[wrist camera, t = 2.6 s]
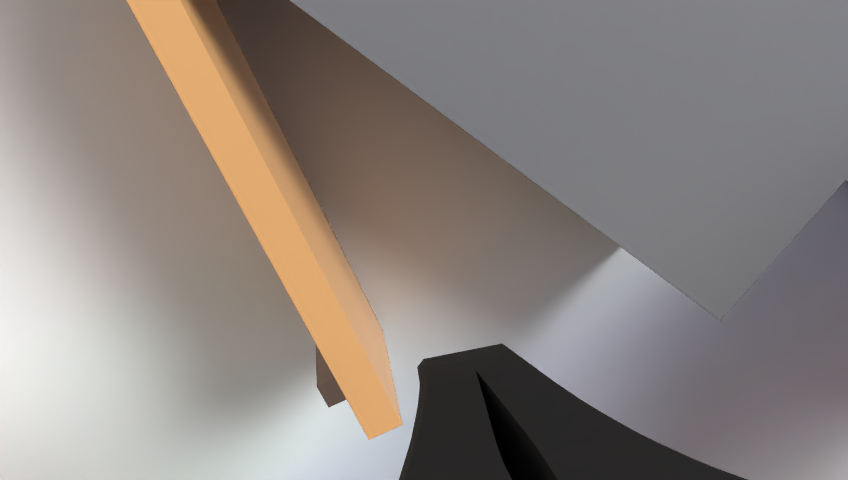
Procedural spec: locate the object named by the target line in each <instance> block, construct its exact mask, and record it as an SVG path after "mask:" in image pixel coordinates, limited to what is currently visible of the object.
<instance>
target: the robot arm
mask: <svg viewBox="0 0 848 480" xmlns="http://www.w3.org/2000/svg"><path fill="white" fill-rule="evenodd" d="M846 181H847V182H848V178H847V179H846ZM417 368H418V374H419V380H420V391H419V400H418V408H417V414H416V418H415V423H414V428H413V433H412V438H411V442H410V445H409V449H408V452H407V455H406V459H405V462H404V465H403V468H402V472H401V475H400V478H399V480H747V479H744V478H741V477H738V476H736V475H733V474H730V473H727V472H725V471H722V470H719V469H717V468H714V467H712V466H709V465H707V464H704V463H702V462H699V461H697V460H694V459H692V458H690V457H688V456H685V455H683V454H681V453H679V452H677V451H675V450H672V449H670V448H668V447H666V446H664V445H661V444H659V443H657V442H655V441H653V440H651V439H649V438H647V437H645V436H643V435H641V434H639V433H637V432H635V431H633V430H631V429H630V428H628V427H626V426H624V425H623V424H621V423H619V422H617V421H616V420H614V419H612V418H610V417H609V416H607V415H605V414H603V413H601V412H600V411H598V410H597V409H595V408H593V407H592V406H590V405H588V404H587V403H585V402H584V401H582V400H581V399H579V398H578V397H576V396H575V395H573V394H572V393H570V392H568V391H567V390H565V389H564V388H563V387H561V386H560V385H558V384H557V383H555V382H554V381H553V380H551V379H550V378H548V377H547V376H546V375H544V374H543V373H542V372H540V371H539V370H537V369H536V368H535V367H533V366H532V365H531V364H529V363H528V362H527V361H525V360H524V359H523V358H521V357H520V356H519V355H517V354H516V353H514V352H513V351H512V350H510V349H509V348H508V347H506V346H505V345H503V344H498V345H493V346H488V347H483V348H478V349H472V350H467V351H462V352H457V353H452V354H447V355H442V356H437V357H432V358H427V359H423V361H422V362H421V363H420V365H419V366H418V367H417Z"/></svg>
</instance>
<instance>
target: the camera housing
mask: <svg viewBox="0 0 848 480" xmlns="http://www.w3.org/2000/svg"><path fill="white" fill-rule="evenodd" d="M290 1H291V2H292V3H294V4H295V5H297V6H298V7H299V8H301V9H302V10H303V11H305V12H306V13H307V14H309V15H310V16H311V17H313V18H314V19H315V20H317V21H318V22H319V23H321V24H322V25H323V26H325V27H326V28H327V29H329V30H330V31H331V32H333V33H334V34H335V35H337V36H338V37H340V38H341V39H342V40H344V41H345V42H346V43H348V44H349V45H350V46H352V47H353V48H354V49H356V50H357V51H358V52H360V53H361V54H362V55H364V56H365V57H366V58H368V59H369V60H370V61H372V62H373V63H374V64H376V65H377V66H378V67H380V68H381V69H383V70H384V71H385V72H387V73H388V74H389V75H391V76H392V77H393V78H395V79H396V80H397V81H399V82H400V83H401V84H403V85H404V86H405V87H407V88H408V89H409V90H411V91H412V92H413V93H415V94H416V95H417V96H419V97H420V98H421V99H423V100H424V101H426V102H427V103H428V104H430V105H431V106H432V107H434V108H435V109H436V110H438V111H439V112H440V113H442V114H443V115H444V116H446V117H447V118H448V119H450V120H451V121H452V122H454V123H455V124H456V125H458V126H459V127H460V128H462V129H463V130H465V131H466V132H467V133H469V134H470V135H471V136H473V137H474V138H475V139H477V140H478V141H479V142H481V143H482V144H483V145H485V146H486V147H487V148H489V149H490V150H491V151H493V152H494V153H495V154H497V155H498V156H499V157H501V158H502V159H503V160H505V161H506V162H508V163H509V164H510V165H512V166H513V167H514V168H516V169H517V170H518V171H520V172H521V173H522V174H524V175H525V176H526V177H528V178H529V179H530V180H532V181H533V182H534V183H536V184H537V185H538V186H540V187H541V188H542V189H544V190H545V191H546V192H548V193H549V194H551V195H552V196H553V197H555V198H556V199H557V200H559V201H560V202H561V203H563V204H564V205H565V206H567V207H568V208H569V209H571V210H572V211H573V212H575V213H576V214H577V215H579V216H580V217H581V218H583V219H584V220H585V221H587V222H588V223H589V224H591V225H592V226H594V227H595V228H596V229H598V230H599V231H600V232H602V233H603V234H604V235H606V236H607V237H608V238H610V239H611V240H612V241H614V242H615V243H616V244H618V245H619V246H620V247H622V248H623V249H624V250H626V251H627V252H628V253H630V254H631V255H632V256H634V257H635V258H637V259H638V260H639V261H641V262H642V263H643V264H645V265H646V266H647V267H649V268H650V269H651V270H653V271H654V272H655V273H657V274H658V275H659V276H661V277H662V278H663V279H665V280H666V281H667V282H669V283H670V284H671V285H673V286H674V287H676V288H677V289H678V290H680V291H681V292H682V293H684V294H685V295H686V296H688V297H689V298H690V299H692V300H693V301H694V302H696V303H697V304H698V305H700V306H701V307H702V308H704V309H705V310H706V311H708V312H709V313H710V314H712V315H713V316H714V317H716V318H717V319H719V320H720V321H721V320H722V318H723V317H724V316H725V315H726V314H727V313H728V312H729V311H730V309H731V308H732V307H733V306H734V305H735V304H736V303H737V302H738V300H739V299H740V298H741V297H742V296H743V295H744V294H745V293H746V291H747V290H748V289H749V288H750V287H751V286H752V285H753V284H754V283H755V281H756V280H757V279H758V278H759V277H760V276H761V275H762V274H763V272H764V271H765V270H766V269H767V268H768V267H769V266H770V265H771V263H772V262H773V261H774V260H775V259H776V258H777V257H778V256H779V254H780V253H781V252H782V251H783V250H784V249H785V248H786V247H787V245H788V244H789V243H790V242H791V241H792V240H793V239H794V238H795V236H796V235H797V234H798V233H799V232H800V231H801V230H802V229H803V227H804V226H805V225H806V224H807V223H808V222H809V221H810V220H811V218H812V217H813V216H814V215H815V214H816V213H817V212H818V211H819V209H820V208H821V207H822V206H823V205H824V204H825V203H826V202H827V200H828V199H829V198H830V197H831V196H832V195H833V194H834V193H835V191H836V190H837V189H838V188H839V187H840V186H841V185H842V184H843V183H844V181H845V180H846V179H847V178H848V0H290Z"/></svg>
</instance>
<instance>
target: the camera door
mask: <svg viewBox="0 0 848 480" xmlns="http://www.w3.org/2000/svg"><path fill="white" fill-rule="evenodd" d="M126 1H127V3H128V4H129V6H130V8H131V10H132V12H133V14H134V15H135V17H136V19H137V21H138V23H139V24H140V26H141V28H142V30H143V32H144V33H145V35H146V37H147V39H148V41H149V43H150V44H151V46H152V48H153V50H154V52H155V53H156V55H157V57H158V59H159V61H160V62H161V64H162V66H163V68H164V70H165V71H166V73H167V75H168V77H169V79H170V81H171V82H172V84H173V86H174V88H175V90H176V91H177V93H178V95H179V97H180V99H181V100H182V102H183V104H184V106H185V108H186V109H187V111H188V113H189V115H190V117H191V119H192V120H193V122H194V124H195V126H196V128H197V129H198V131H199V133H200V135H201V137H202V138H203V140H204V142H205V144H206V146H207V148H208V149H209V151H210V153H211V155H212V157H213V158H214V160H215V162H216V164H217V166H218V167H219V169H220V171H221V173H222V175H223V176H224V178H225V180H226V182H227V184H228V186H229V187H230V189H231V191H232V193H233V195H234V196H235V198H236V200H237V202H238V204H239V205H240V207H241V209H242V211H243V213H244V215H245V216H246V218H247V220H248V222H249V224H250V225H251V227H252V229H253V231H254V233H255V234H256V236H257V238H258V240H259V242H260V243H261V245H262V247H263V249H264V251H265V253H266V254H267V256H268V258H269V260H270V262H271V263H272V265H273V267H274V269H275V271H276V272H277V274H278V276H279V278H280V280H281V281H282V283H283V285H284V287H285V289H286V291H287V292H288V294H289V296H290V298H291V300H292V301H293V303H294V305H295V307H296V309H297V310H298V312H299V314H300V316H301V318H302V320H303V321H304V323H305V325H306V327H307V329H308V330H309V332H310V334H311V336H312V338H313V339H314V341H315V343H316V369H317V388H318V389H319V391H320V393H321V395H322V396H323V398H324V400H325V402H326V403H327V405H328V407H331V406H333V405H335V404H337V403H340V402H342V401H344V400H346V399H347V401H348V403H349V405H350V406H351V408H352V410H353V412H354V414H355V415H356V417H357V419H358V421H359V423H360V425H361V426H362V428H363V430H364V432H365V434H366V435H367V437H368V439H372V438H374V437H376V436H378V435H381V434H383V433H385V432H387V431H390V430H392V429H394V428H396V427H398V426H401V425H403V424H402V419H401V415H400V410H399V405H398V400H397V396H396V391H395V386H394V381H393V377H392V372H391V367H390V362H389V357H388V353H387V348H386V343H385V338H384V334H383V330H382V328H381V326H380V324H379V322H378V320H377V318H376V316H375V314H374V312H373V310H372V308H371V306H370V304H369V302H368V300H367V298H366V296H365V294H364V292H363V290H362V288H361V286H360V284H359V282H358V280H357V278H356V276H355V274H354V272H353V270H352V268H351V266H350V264H349V262H348V260H347V258H346V256H345V254H344V252H343V251H342V249H341V247H340V245H339V243H338V241H337V239H336V237H335V235H334V233H333V231H332V229H331V227H330V225H329V223H328V221H327V219H326V217H325V215H324V213H323V211H322V209H321V207H320V205H319V203H318V201H317V199H316V197H315V195H314V193H313V191H312V189H311V187H310V185H309V183H308V181H307V179H306V177H305V175H304V173H303V171H302V169H301V167H300V165H299V163H298V162H297V160H296V158H295V156H294V154H293V152H292V150H291V148H290V146H289V144H288V142H287V140H286V138H285V136H284V134H283V132H282V130H281V128H280V126H279V124H278V122H277V120H276V118H275V116H274V114H273V112H272V110H271V108H270V106H269V104H268V102H267V100H266V98H265V96H264V94H263V92H262V90H261V88H260V86H259V84H258V82H257V80H256V78H255V76H254V74H253V73H252V71H251V69H250V67H249V65H248V63H247V61H246V59H245V57H244V55H243V53H242V51H241V49H240V47H239V45H238V43H237V41H236V39H235V37H234V35H233V33H232V31H231V29H230V27H229V25H228V23H227V21H226V19H225V17H224V15H223V13H222V11H221V9H220V7H219V5H218V3H217V1H216V0H126Z"/></svg>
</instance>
